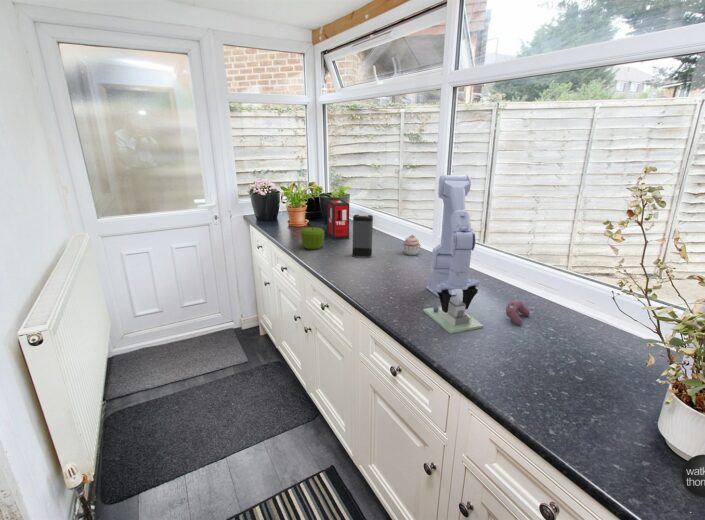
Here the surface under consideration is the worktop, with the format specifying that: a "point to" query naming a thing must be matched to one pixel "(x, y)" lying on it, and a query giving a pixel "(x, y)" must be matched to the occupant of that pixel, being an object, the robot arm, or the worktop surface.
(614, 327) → the worktop surface
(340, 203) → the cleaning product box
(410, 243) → the cupcake
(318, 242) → the apple
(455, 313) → the plug
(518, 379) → the worktop surface
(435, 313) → the board
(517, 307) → the video game controller
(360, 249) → the electronic device
